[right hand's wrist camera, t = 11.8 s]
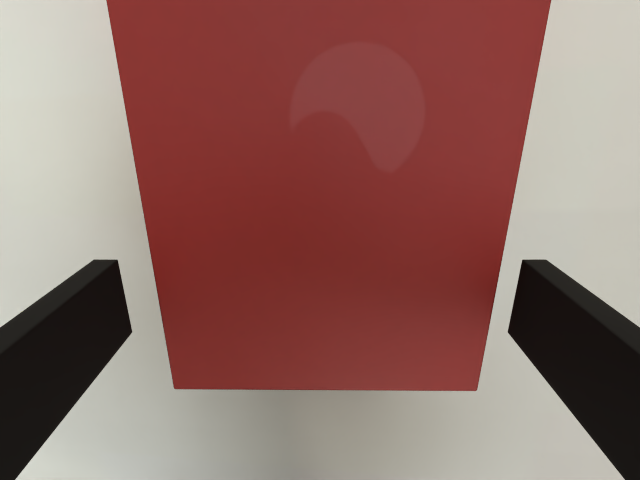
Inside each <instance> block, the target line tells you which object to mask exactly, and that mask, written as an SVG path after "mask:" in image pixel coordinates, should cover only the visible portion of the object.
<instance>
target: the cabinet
mask: <svg viewBox="0 0 640 480" xmlns="http://www.w3.org/2000/svg"><path fill="white" fill-rule="evenodd" d="M550 3H551V0H107V6H108V12H109V17H110V23H111V29H112V35H113V40H114V46H115V52H116V58H117V63H118V69H119V75H120V81H121V86H122V92H123V98H124V104H125V109H126V115H127V121H128V127H129V132H130V138H131V144H132V149H133V155H134V161H135V167H136V172H137V178H138V184H139V190H140V195H141V201H142V207H143V213H144V218H145V224H146V230H147V236H148V241H149V247H150V253H151V259H152V264H153V270H154V276H155V281H156V287H157V293H158V299H159V304H160V310H161V316H162V322H163V327H164V333H165V339H166V345H167V350H168V356H169V362H170V368H171V373H172V379H173V385H174V389H246V390H410V391H476V390H477V387H478V382H479V377H480V372H481V366H482V361H483V356H484V351H485V345H486V340H487V335H488V329H489V324H490V319H491V314H492V308H493V303H494V298H495V293H496V287H497V282H498V277H499V272H500V266H501V261H502V256H503V251H504V245H505V240H506V235H507V230H508V224H509V219H510V214H511V209H512V203H513V198H514V193H515V188H516V182H517V177H518V172H519V166H520V161H521V156H522V151H523V145H524V140H525V135H526V130H527V124H528V119H529V114H530V109H531V103H532V98H533V93H534V88H535V82H536V77H537V72H538V67H539V61H540V56H541V51H542V46H543V40H544V35H545V30H546V25H547V19H548V14H549V9H550Z"/></svg>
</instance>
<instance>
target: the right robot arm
mask: <svg viewBox="0 0 640 480" xmlns="http://www.w3.org/2000/svg"><path fill="white" fill-rule="evenodd" d="M131 333H132V329H131V324H130V319H129V314H128V309H127V304H126V299H125V294H124V289H123V284H122V279H121V274H120V269H119V264H118V260H93V261H92V262H90V263H89V264H87V265H86V266H85V267H83V268H82V269H80V270H79V271H78V272H76V273H75V274H74V275H72V276H71V277H69V278H68V279H67V280H65V281H64V282H63V283H61V284H60V285H58V286H57V287H56V288H54V289H53V290H52V291H50V292H49V293H47V294H46V295H45V296H43V297H42V298H40V299H39V300H38V301H36V302H35V303H34V304H32V305H31V306H29V307H28V308H27V309H25V310H24V311H23V312H21V313H20V314H18V315H17V316H16V317H14V318H13V319H12V320H10V321H9V322H7V323H6V324H5V325H3V326H2V327H0V480H15V479H16V478H17V477H18V475H19V474H20V473H21V471H22V470H23V469H24V468H25V466H26V465H27V464H28V463H29V461H30V460H31V459H32V458H33V456H34V455H35V454H36V453H37V451H38V450H39V449H40V448H41V446H42V445H43V444H44V443H45V441H46V440H47V439H48V438H49V436H50V435H51V434H52V432H53V431H54V430H55V429H56V427H57V426H58V425H59V424H60V422H61V421H62V420H63V419H64V417H65V416H66V415H67V414H68V412H69V411H70V410H71V409H72V407H73V406H74V405H75V404H76V402H77V401H78V400H79V398H80V397H81V396H82V395H83V393H84V392H85V391H86V390H87V388H88V387H89V386H90V385H91V383H92V382H93V381H94V380H95V378H96V377H97V376H98V375H99V373H100V372H101V371H102V370H103V368H104V367H105V366H106V365H107V363H108V362H109V361H110V359H111V358H112V357H113V356H114V354H115V353H116V352H117V351H118V349H119V348H120V347H121V346H122V344H123V343H124V342H125V341H126V339H127V338H128V337H129V336H130V334H131ZM508 333H509V334H510V336H511V337H512V338H513V339H514V341H515V342H516V343H517V344H518V346H519V347H520V348H521V349H522V351H523V352H524V353H525V354H526V356H527V357H528V358H529V359H530V361H531V362H532V363H533V365H534V366H535V367H536V368H537V370H538V371H539V372H540V373H541V375H542V376H543V377H544V378H545V380H546V381H547V382H548V383H549V385H550V386H551V387H552V388H553V390H554V391H555V392H556V393H557V395H558V396H559V397H560V399H561V400H562V401H563V402H564V404H565V405H566V406H567V407H568V409H569V410H570V411H571V412H572V414H573V415H574V416H575V417H576V419H577V420H578V421H579V422H580V424H581V425H582V426H583V427H584V429H585V430H586V431H587V432H588V434H589V435H590V436H591V438H592V439H593V440H594V441H595V443H596V444H597V445H598V446H599V448H600V449H601V450H602V451H603V453H604V454H605V455H606V456H607V458H608V459H609V460H610V461H611V463H612V464H613V465H614V466H615V468H616V469H617V470H618V471H619V473H620V474H621V475H622V477H623V478H624V479H625V480H640V327H638V326H637V325H635V324H634V323H633V322H631V321H630V320H628V319H627V318H626V317H624V316H623V315H622V314H620V313H619V312H617V311H616V310H615V309H613V308H612V307H611V306H609V305H608V304H606V303H605V302H604V301H602V300H601V299H600V298H598V297H597V296H595V295H594V294H593V293H591V292H590V291H588V290H587V289H586V288H584V287H583V286H582V285H580V284H579V283H577V282H576V281H575V280H573V279H572V278H571V277H569V276H568V275H566V274H565V273H564V272H562V271H561V270H560V269H558V268H557V267H555V266H554V265H553V264H551V263H550V262H548V261H547V260H522V264H521V269H520V274H519V279H518V284H517V289H516V294H515V299H514V304H513V309H512V314H511V319H510V324H509V329H508Z"/></svg>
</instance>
